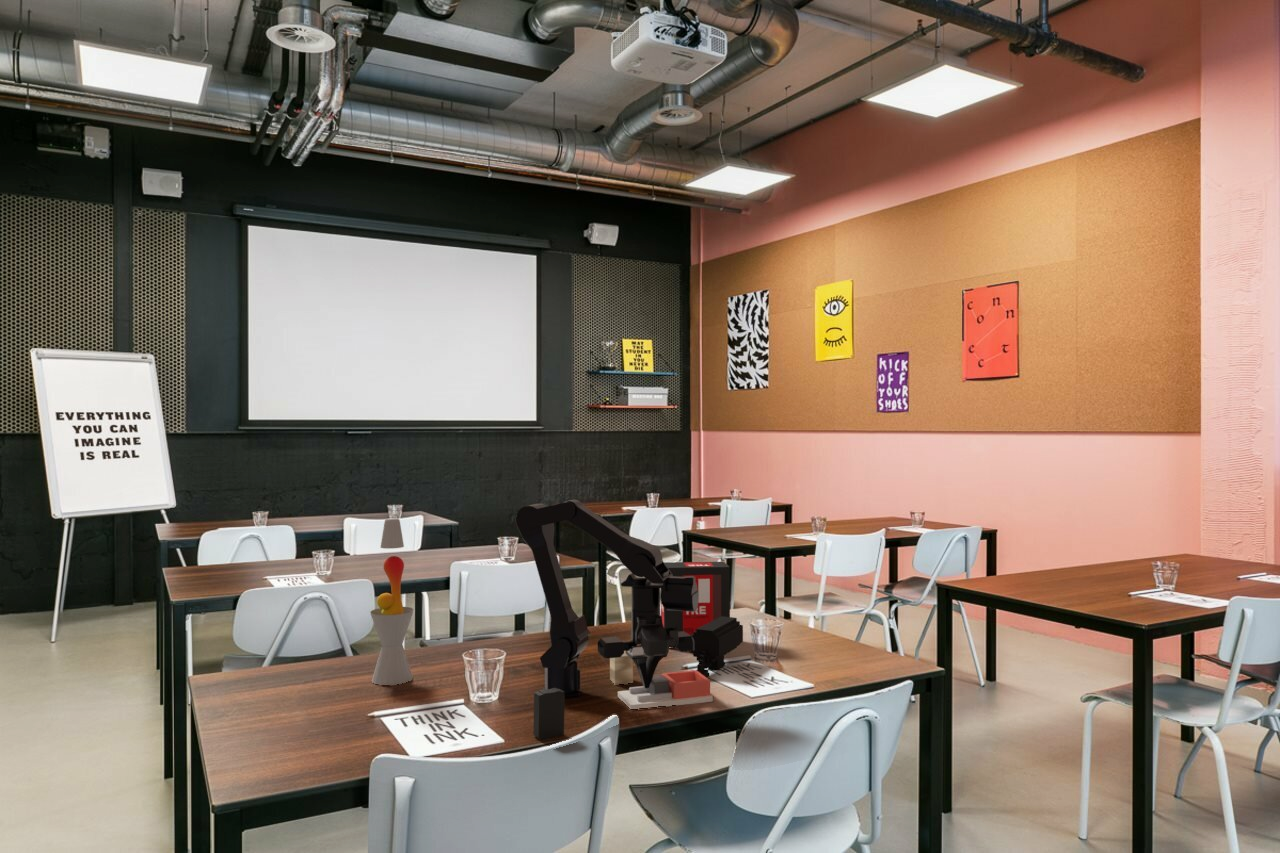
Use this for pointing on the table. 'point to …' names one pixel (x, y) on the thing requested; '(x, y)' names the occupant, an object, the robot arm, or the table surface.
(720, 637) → the security camera
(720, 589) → the cleaning product box
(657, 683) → the toggle
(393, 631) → the lava lamp
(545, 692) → the ink cartridge
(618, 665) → the block
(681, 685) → the slide switch base
